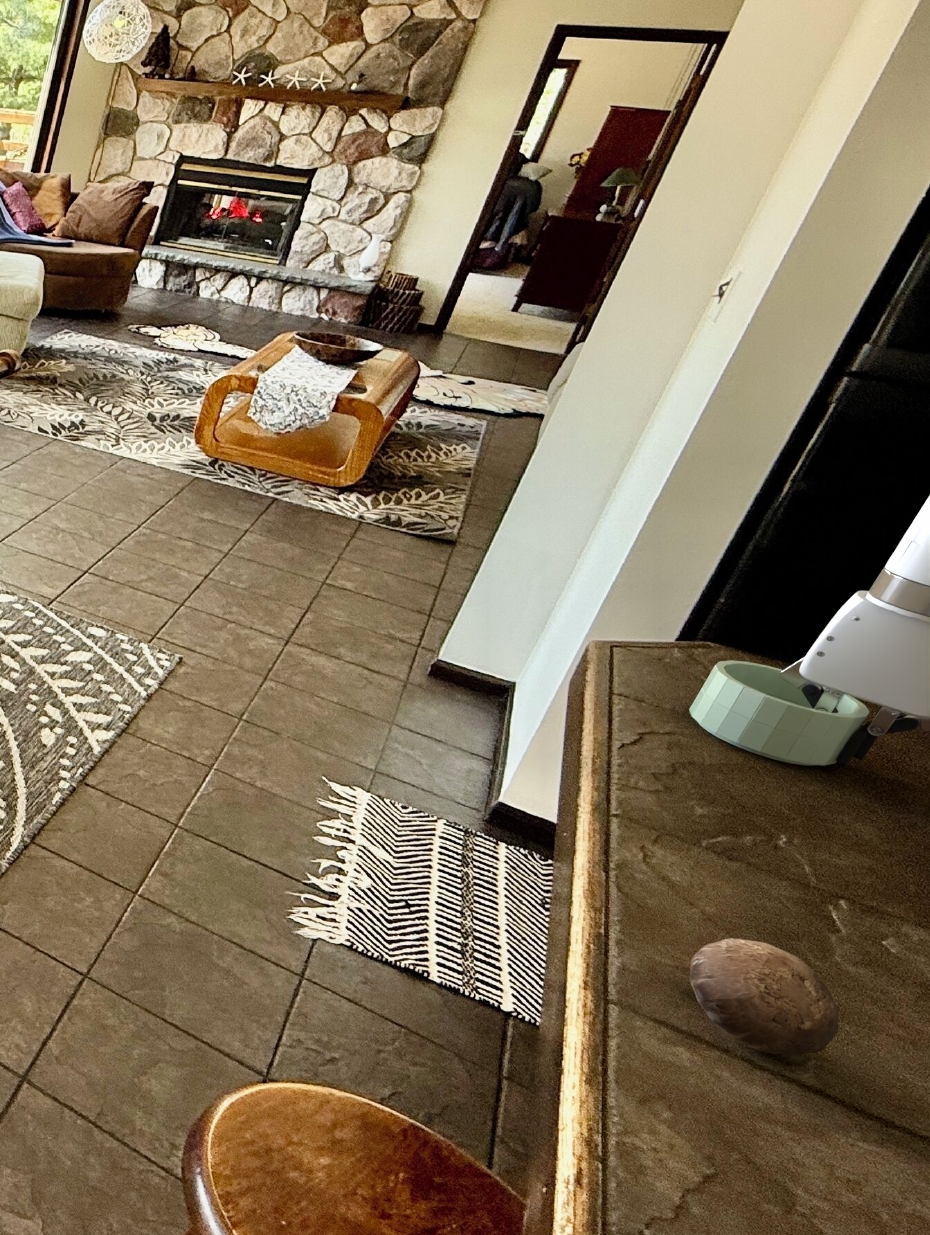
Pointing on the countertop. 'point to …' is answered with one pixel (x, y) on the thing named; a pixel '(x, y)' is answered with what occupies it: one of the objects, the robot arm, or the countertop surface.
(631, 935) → the countertop surface
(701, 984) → the mushroom
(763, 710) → the bowl
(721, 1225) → the countertop surface
